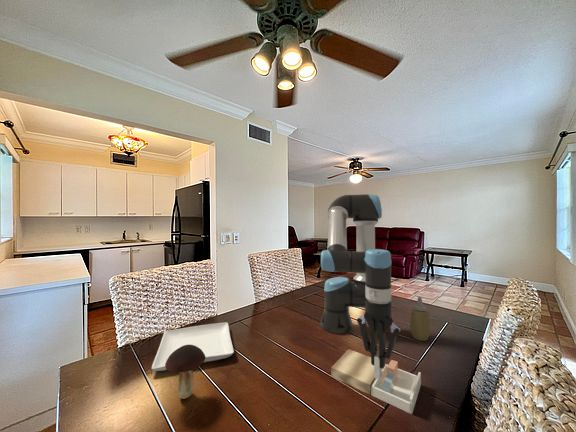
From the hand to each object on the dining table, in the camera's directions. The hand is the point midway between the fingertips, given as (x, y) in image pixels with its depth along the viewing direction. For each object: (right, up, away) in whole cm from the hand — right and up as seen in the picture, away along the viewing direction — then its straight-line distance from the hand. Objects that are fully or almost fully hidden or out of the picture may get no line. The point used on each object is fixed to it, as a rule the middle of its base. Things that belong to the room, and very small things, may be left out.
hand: (378, 376), depth 72 cm
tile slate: (+2, -1, -1) cm, 2 cm away
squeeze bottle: (+31, -5, +31) cm, 44 cm away
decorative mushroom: (-58, -4, -3) cm, 58 cm away
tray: (+6, -4, 0) cm, 7 cm away
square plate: (-65, -5, +23) cm, 69 cm away
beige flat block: (-4, -4, +8) cm, 10 cm away
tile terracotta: (+5, -1, +5) cm, 7 cm away
